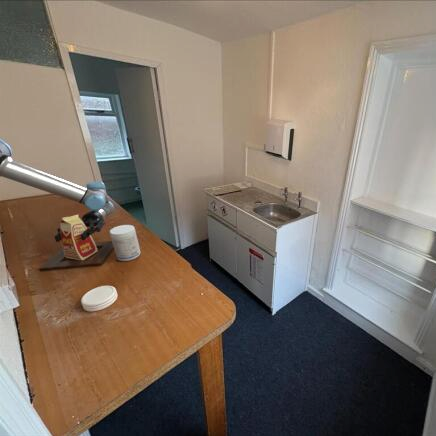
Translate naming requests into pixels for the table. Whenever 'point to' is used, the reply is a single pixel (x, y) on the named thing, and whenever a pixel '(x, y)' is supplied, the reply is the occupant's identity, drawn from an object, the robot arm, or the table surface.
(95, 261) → the holder board
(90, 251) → the milk carton
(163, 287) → the table surface
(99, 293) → the coaster
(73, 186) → the robot arm
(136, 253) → the supplement tub
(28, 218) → the table surface
